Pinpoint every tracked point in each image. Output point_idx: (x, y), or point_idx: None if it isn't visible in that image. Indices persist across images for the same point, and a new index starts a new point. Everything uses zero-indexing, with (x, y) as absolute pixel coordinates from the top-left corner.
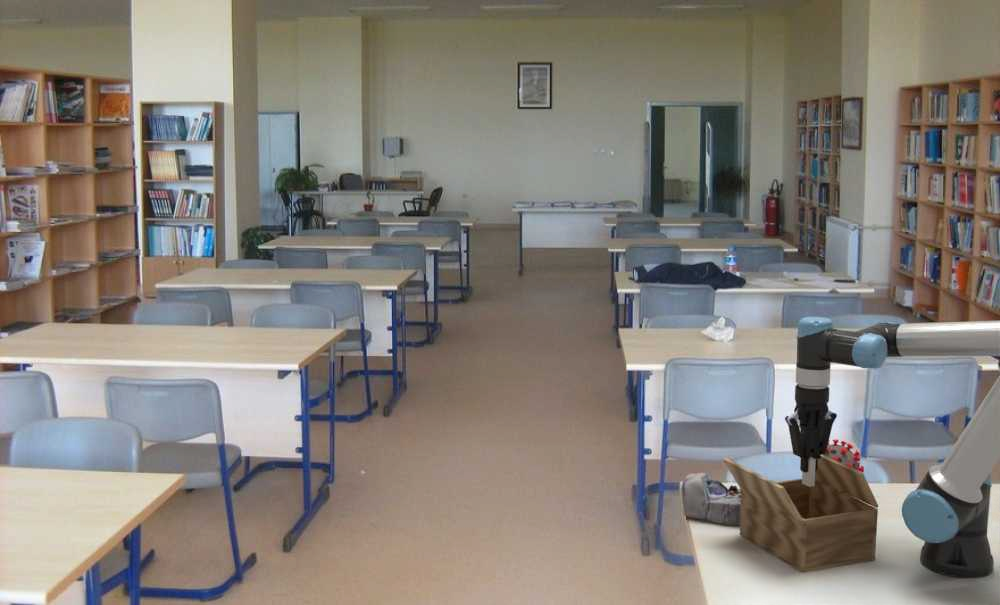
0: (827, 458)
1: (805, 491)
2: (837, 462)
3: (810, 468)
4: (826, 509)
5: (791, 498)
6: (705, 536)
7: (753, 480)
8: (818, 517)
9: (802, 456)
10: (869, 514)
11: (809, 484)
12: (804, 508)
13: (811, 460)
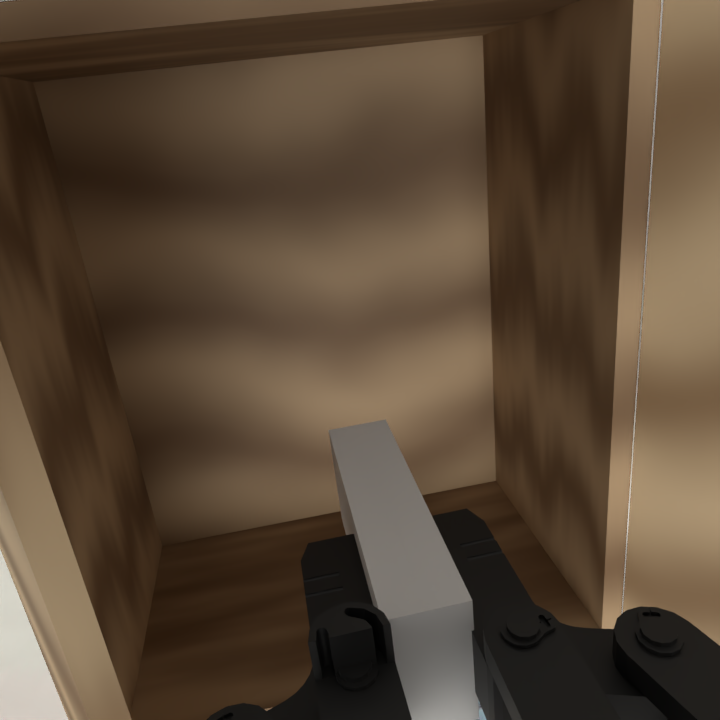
0: (111, 717)
1: (169, 664)
2: (45, 562)
3: (426, 523)
4: (109, 499)
5: (266, 621)
6: (629, 491)
7: None
8: None
9: (632, 619)
10: None
11: (389, 429)
12: (180, 590)
13: (449, 592)
